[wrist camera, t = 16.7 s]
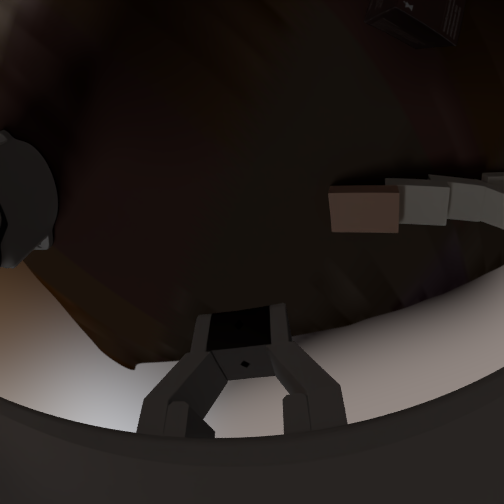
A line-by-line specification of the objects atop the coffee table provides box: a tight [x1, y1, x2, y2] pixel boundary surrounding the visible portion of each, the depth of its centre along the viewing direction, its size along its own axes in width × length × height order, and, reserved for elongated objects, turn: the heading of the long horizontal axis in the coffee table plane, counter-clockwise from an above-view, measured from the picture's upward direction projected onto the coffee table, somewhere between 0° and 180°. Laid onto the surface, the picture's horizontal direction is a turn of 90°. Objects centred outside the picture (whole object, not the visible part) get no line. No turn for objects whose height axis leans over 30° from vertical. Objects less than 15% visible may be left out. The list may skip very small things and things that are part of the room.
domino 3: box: [428, 174, 486, 222], centre depth 25 cm, size 2×4×7 cm
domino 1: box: [328, 185, 399, 233], centre depth 27 cm, size 2×4×7 cm
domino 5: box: [474, 179, 504, 229], centre depth 24 cm, size 2×4×7 cm
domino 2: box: [385, 178, 450, 226], centre depth 26 cm, size 2×4×7 cm
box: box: [364, 0, 466, 49], centre depth 13 cm, size 6×6×7 cm
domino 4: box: [481, 172, 504, 189], centre depth 25 cm, size 2×4×7 cm
